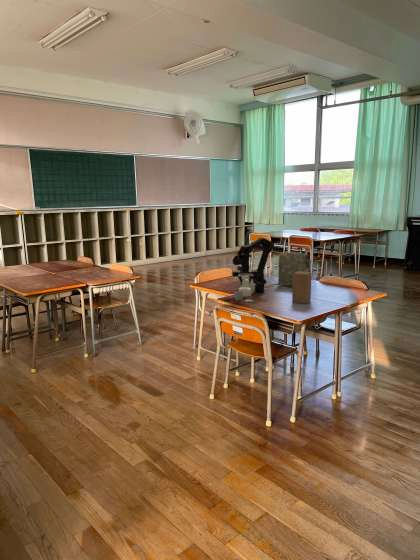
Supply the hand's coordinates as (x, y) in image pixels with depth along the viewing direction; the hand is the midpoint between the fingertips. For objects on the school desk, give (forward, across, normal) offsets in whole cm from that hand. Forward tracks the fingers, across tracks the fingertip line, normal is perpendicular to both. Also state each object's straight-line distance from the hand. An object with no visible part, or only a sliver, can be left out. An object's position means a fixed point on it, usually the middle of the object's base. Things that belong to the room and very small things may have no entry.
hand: (245, 285), depth 299 cm
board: (+7, +1, +18) cm, 19 cm away
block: (+8, -33, +26) cm, 43 cm away
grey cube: (+7, +7, +11) cm, 15 cm away
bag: (+8, -45, -25) cm, 52 cm away
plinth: (+8, 0, 0) cm, 8 cm away
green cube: (+1, 0, 0) cm, 1 cm away
